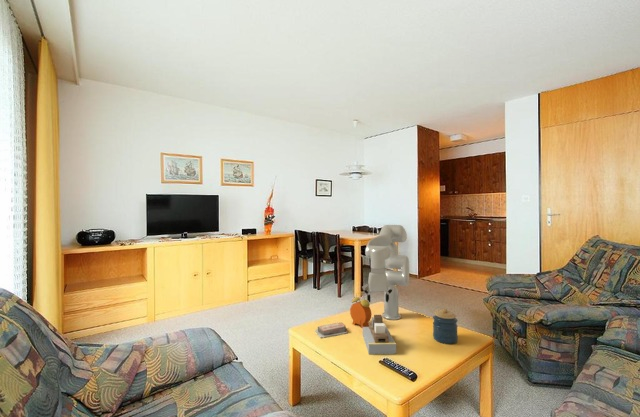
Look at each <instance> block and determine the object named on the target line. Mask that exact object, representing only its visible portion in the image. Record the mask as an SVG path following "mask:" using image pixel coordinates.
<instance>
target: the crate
mask: <svg viewBox="0 0 640 417" xmlns="http://www.w3.org/2000/svg"><path fill="white" fill-rule="evenodd" d="M385 327H386V324H385V323H384V322H383V323H374V330H375V333H385Z"/></svg>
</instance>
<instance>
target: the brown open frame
mask: <svg viewBox="0 0 640 417" xmlns="http://www.w3.org/2000/svg"><path fill="white" fill-rule="evenodd" d="M373 317H374V323H384V321H383V319H384V317H382V314H373ZM368 323H369V329H370V331H371V334H372V336H373V339H374V341H375V343H378V339H384V340H385V343H389V336H388V334H387V332H386V330H385V333H375V330H374V327H373V326H372V321H369V322H368Z"/></svg>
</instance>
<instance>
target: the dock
mask: <svg viewBox="0 0 640 417" xmlns="http://www.w3.org/2000/svg"><path fill="white" fill-rule="evenodd" d="M385 330H386V332H387V334H388V336H389V343H385V340H384V339H378V343H375V341H374V339H373V336H372V334H371V331H370V329H369V327H363V328H362V337H363V341H364V344H365V347H366V349H367V353H368V355H397V342H396V341H395V340H394V338H393V336H392V335H391V332H390V331H389V328H388V327H387V326H385Z"/></svg>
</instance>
